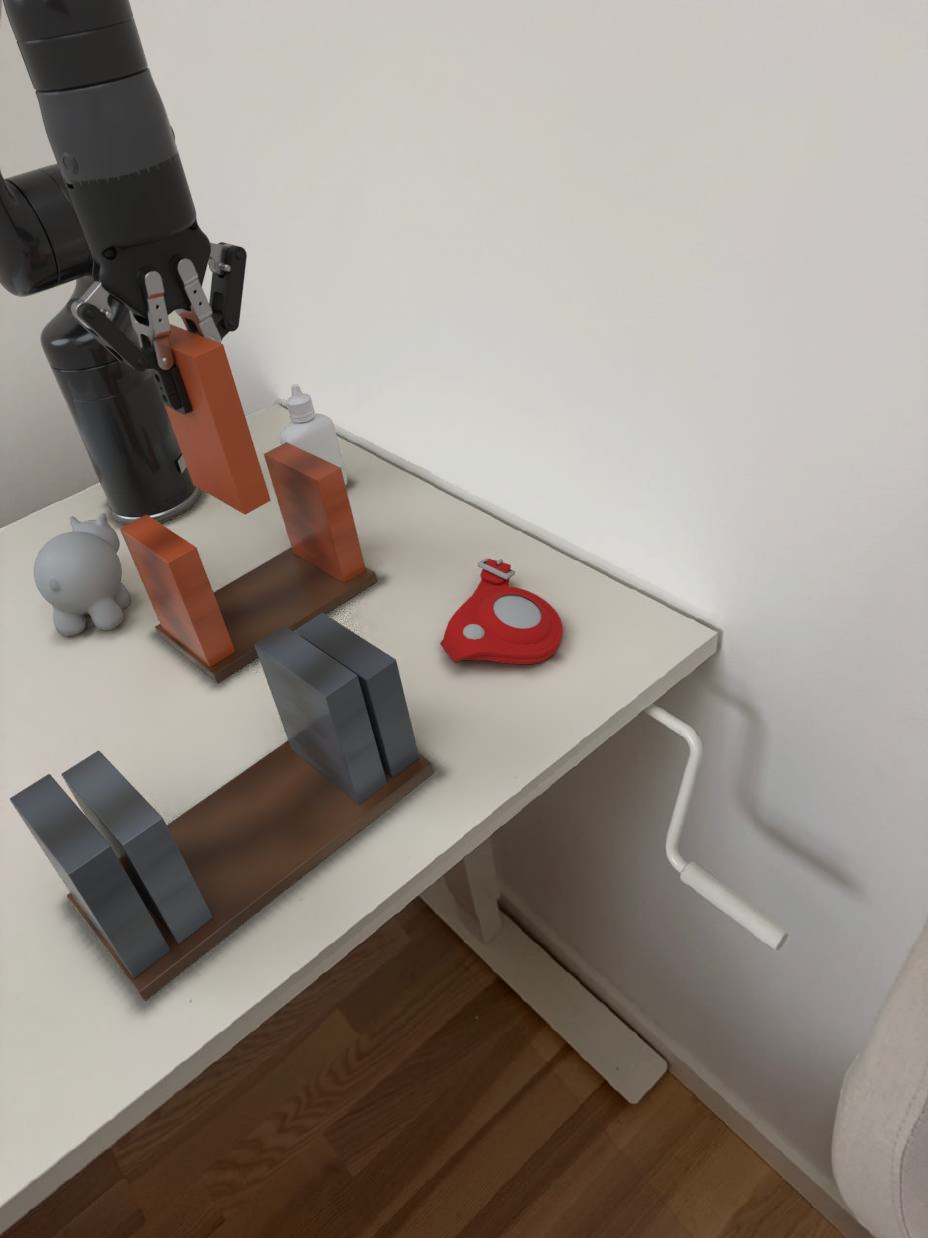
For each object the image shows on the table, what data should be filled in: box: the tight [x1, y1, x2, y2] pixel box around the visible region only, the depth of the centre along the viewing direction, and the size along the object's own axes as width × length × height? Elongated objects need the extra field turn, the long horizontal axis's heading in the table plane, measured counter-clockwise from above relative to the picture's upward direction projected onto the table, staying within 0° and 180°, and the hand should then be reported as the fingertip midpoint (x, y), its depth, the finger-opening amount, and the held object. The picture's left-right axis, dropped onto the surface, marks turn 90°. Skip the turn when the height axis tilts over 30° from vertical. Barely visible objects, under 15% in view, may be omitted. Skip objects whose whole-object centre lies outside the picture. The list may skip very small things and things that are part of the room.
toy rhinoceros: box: [33, 512, 132, 637], centre depth 86 cm, size 7×12×8 cm, turn 179°
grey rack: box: [9, 613, 434, 1002], centre depth 61 cm, size 10×23×11 cm, turn 133°
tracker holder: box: [439, 557, 564, 665], centre depth 77 cm, size 12×4×10 cm
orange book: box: [164, 323, 272, 515], centre depth 73 cm, size 8×2×13 cm, turn 44°
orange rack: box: [119, 442, 378, 684], centre depth 81 cm, size 10×17×12 cm, turn 133°
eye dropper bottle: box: [279, 383, 348, 487], centre depth 96 cm, size 4×6×12 cm
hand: (200, 401), depth 72 cm, fingers closed on orange book, 2 cm apart
